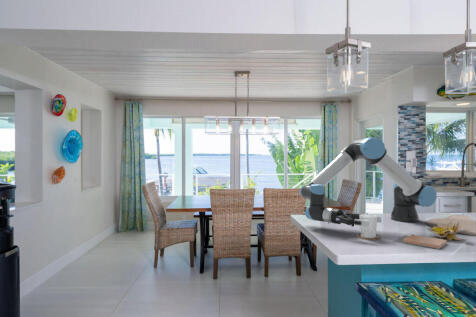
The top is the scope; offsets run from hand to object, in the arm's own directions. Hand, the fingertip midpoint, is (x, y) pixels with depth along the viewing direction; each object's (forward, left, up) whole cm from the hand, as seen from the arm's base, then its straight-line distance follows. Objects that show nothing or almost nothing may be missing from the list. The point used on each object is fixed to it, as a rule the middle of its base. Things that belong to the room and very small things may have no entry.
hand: (375, 221), depth 147 cm
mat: (-8, +16, -8) cm, 20 cm away
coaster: (0, -3, -8) cm, 9 cm away
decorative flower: (-25, +22, -8) cm, 34 cm away
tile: (-7, +12, -7) cm, 15 cm away
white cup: (0, -3, -8) cm, 8 cm away
